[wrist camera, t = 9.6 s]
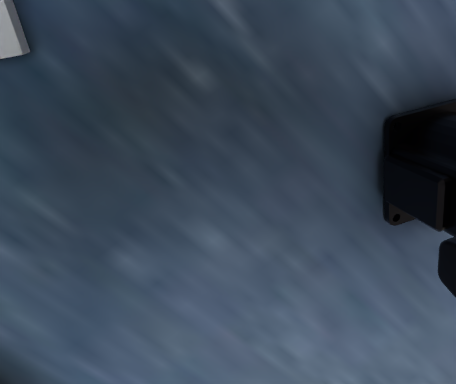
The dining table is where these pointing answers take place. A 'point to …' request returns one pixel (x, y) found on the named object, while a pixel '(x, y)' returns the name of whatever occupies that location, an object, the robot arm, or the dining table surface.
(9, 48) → the shaft block
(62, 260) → the dining table surface
